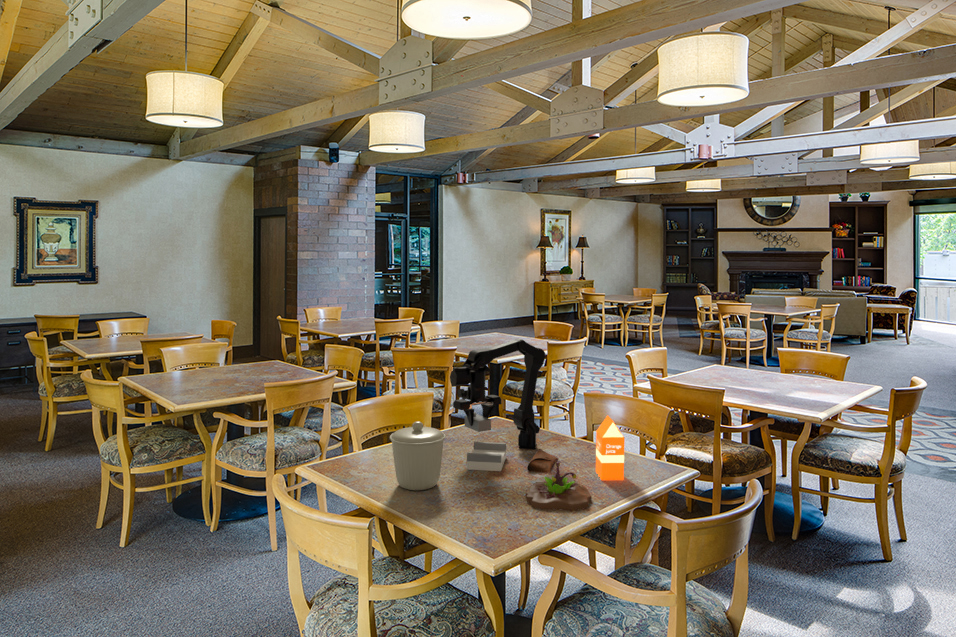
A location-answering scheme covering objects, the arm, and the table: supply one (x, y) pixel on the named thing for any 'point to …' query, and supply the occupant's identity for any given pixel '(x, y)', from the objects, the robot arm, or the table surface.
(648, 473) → the table surface
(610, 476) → the orange juice
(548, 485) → the plant
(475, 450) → the stand
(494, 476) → the table surface
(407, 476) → the canister
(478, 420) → the grey knobbed block
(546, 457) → the sunglasses case
